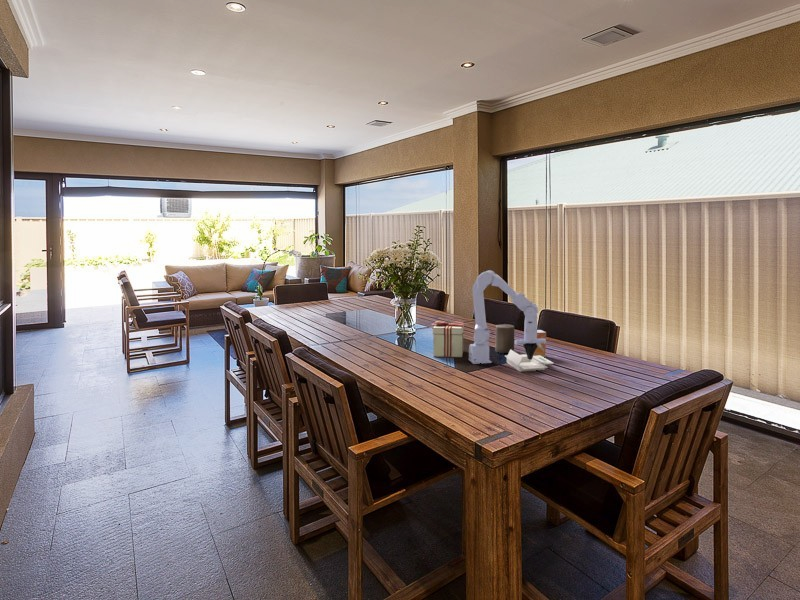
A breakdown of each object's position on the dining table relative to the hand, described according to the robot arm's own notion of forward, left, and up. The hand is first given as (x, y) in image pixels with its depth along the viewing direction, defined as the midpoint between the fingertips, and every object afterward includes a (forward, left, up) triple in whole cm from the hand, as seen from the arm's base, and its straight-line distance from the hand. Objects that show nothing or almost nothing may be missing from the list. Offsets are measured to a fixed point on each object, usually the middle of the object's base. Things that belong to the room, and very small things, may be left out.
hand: (529, 359), depth 219 cm
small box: (+10, +15, -4) cm, 18 cm away
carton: (-2, 0, -3) cm, 4 cm away
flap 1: (-7, 0, +1) cm, 8 cm away
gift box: (-31, +31, -4) cm, 44 cm away
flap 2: (+6, 0, 0) cm, 6 cm away
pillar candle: (-1, +28, -4) cm, 28 cm away
